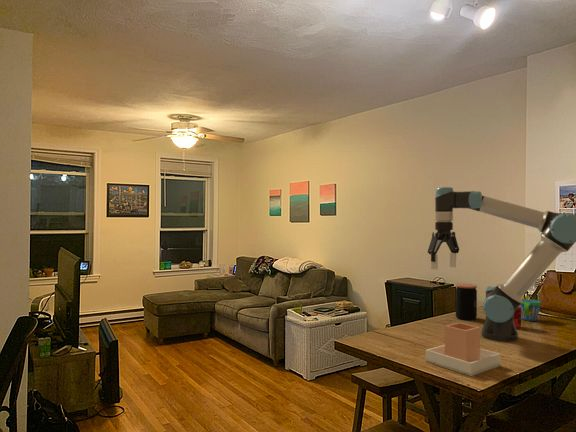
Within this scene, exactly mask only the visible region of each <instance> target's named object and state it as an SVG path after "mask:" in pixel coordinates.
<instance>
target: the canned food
mask: <svg viewBox="0 0 576 432" xmlns="http://www.w3.org/2000/svg"><path fill="white" fill-rule="evenodd" d="M514 324H515V327H516V330H517V329H521V328H522V317H521V305H520V306H519V307H518V308H517V309H516V310H515V312H514Z"/></svg>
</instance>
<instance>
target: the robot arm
mask: <svg viewBox="0 0 576 432" xmlns="http://www.w3.org/2000/svg"><path fill="white" fill-rule="evenodd" d="M434 198H435V199H434V200H435V202H434V203H435V210H434V211H435V219H434V220H435V221H436V222H434V223H435V224H434V225H435V226H434V227H435V228H434V229H435V231H436V232H435V231H434V232H432V233H431V234H432V235H431V239H430V243H429V245H428V249H427V253H428V254H429V255H430V261H431V263H430V264H431V265H430V266H431V267H430V268H431V269H430V270H438V264H439V263H438V259H439V257H438V252H439V249H440V248H441V246H442V244H443V243H445V244H446V245H447V247H448V249H449V251H450V252H449V268H456V267H457V254H459V252H460V247H459V243H458V240H457V237H456V232H455V231H453V229H454V224H453V222H452V221H454V212H453V210H454V209H469V210H473V211H475V212H480V213H484V214H487V215H489V216H490V215H491V216H494V217H497V218H501V219H504V220H507V221H511V222H514V223H518V224H521V225H524V226H527V227H531V228H535V229H537V230H538V231H539V232H540V241H539V242H538V243H537V244H536V245H535V247H533V249H532V250H531V251H530V252H529V253H528V255H527V256H526V257H525V258H524V259H523V260H522V262H521V263H520V264H519V265H518V266H517V268H515V270H513V272H512V274H511V275H509V277H508V278H507V279H506V280H505V282H504V283H500V284H497V285H496V286H491V285H490V286H486V287H485V291H484V292H485V300H484V301H483V304H482V309H483V313H484V315H485V320H484V322H483V325H482V328H481V336H482V337H483V338H484V339H488V340H492V341H497V342H515V341H518V340H519V333H518V330H517V329H516V327H515V324H514V312H515V310H516V309H517V308H518V307H519V306H520V305H521V304H522V299H523V296H524V295H526V293H527V291H529V290H530V289H531V287H532V286H533V285H534V283H536V282H537V280H538V279H539V278H540V277H541V275H542V274H543V273H544V272H545V271H546V270H547V269H548V268H549V267H550V266H551V264H552V263H553V262H554V261H555V260H556V259H557V258H558V256H559V255H560V254H561V253H568V251H569V250H570V249H571V248H572V247H573V245H575V243H576V214H574V213H571V212H570V213H569V212H563V213H560V212H553V211H549V210H546V211H540V210H538V209H534V208H529V207H526V206H522V205H518V204H515V203H511V202H507V201H504V200H499V199H496V198H493V197H490V196H486V195H482V192H481V191H479V190H478V191H475V190H472V191H471V190H470V191H454V188H453V187H447V186H445V187H443V186H442V187H437V188H436V189H435V197H434Z"/></svg>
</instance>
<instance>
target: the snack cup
mask: <svg viewBox="0 0 576 432" xmlns="http://www.w3.org/2000/svg"><path fill="white" fill-rule="evenodd" d="M541 305H542V301H539V300H537V299H530V298H529V299H528V298H526V299H525V298H522V304H521V320H523V321H528V322H536V321H538V319H539V314H540V308H541Z"/></svg>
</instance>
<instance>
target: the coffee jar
mask: <svg viewBox="0 0 576 432" xmlns="http://www.w3.org/2000/svg"><path fill="white" fill-rule="evenodd" d="M455 287H456V288H455V317H456V318H457V319H458V320H461V321H476V319H477V318H478V317H477V316H478V312H477V311H478V309H477V307H478V301H477V300H478V291H477V289H478V285H476V284H472V283H456V284H455Z"/></svg>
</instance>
